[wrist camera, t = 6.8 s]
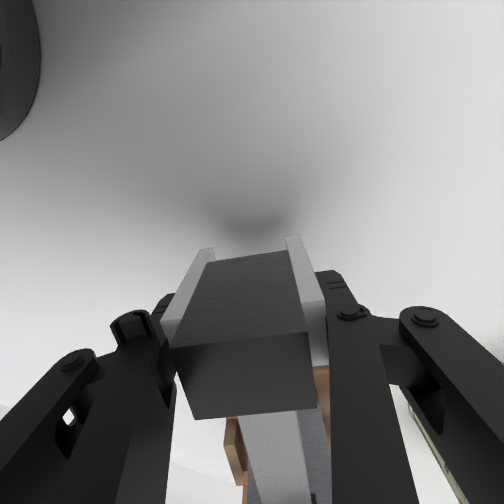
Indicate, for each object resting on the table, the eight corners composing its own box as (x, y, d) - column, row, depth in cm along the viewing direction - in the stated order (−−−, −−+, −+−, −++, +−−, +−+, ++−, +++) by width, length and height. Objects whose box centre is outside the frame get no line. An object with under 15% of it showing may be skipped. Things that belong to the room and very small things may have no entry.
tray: (217, 369, 27) (210, 406, 23) (343, 354, 25) (357, 391, 22) (244, 461, 32) (242, 503, 28) (350, 452, 31) (362, 495, 27)
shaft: (206, 262, 13) (168, 348, 8) (288, 249, 13) (307, 331, 8) (268, 496, 21) (270, 627, 15) (322, 492, 20) (345, 626, 15)
